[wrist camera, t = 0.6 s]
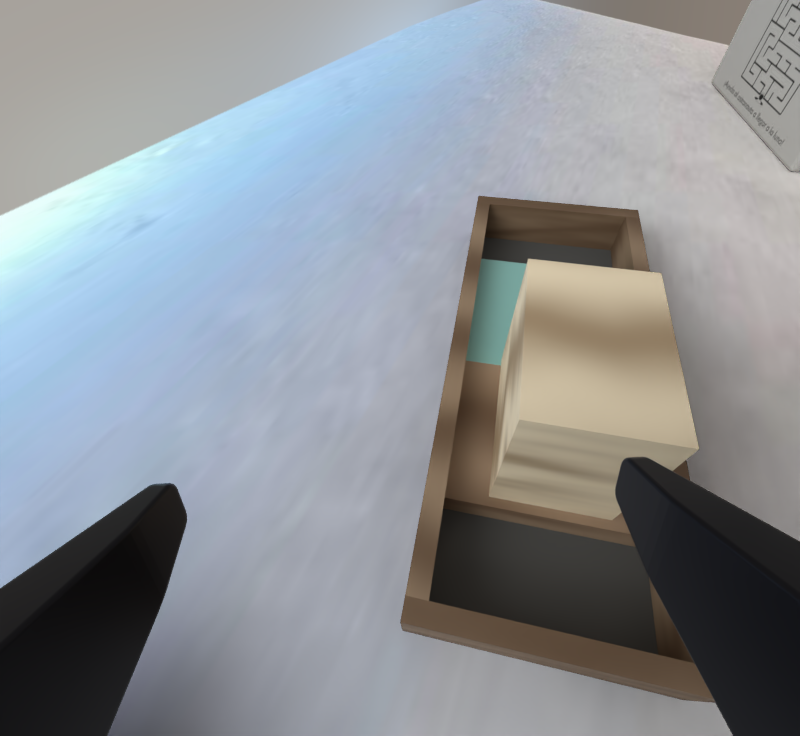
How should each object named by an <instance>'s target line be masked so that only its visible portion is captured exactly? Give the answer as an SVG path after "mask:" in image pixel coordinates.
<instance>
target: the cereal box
mask: <svg viewBox="0 0 800 736" xmlns="http://www.w3.org/2000/svg"><path fill="white" fill-rule="evenodd" d="M712 84H713V85H714V86H715V87H716V88H717V90H718V91H719V92H720V93H721V94H722V95H723V96H724V97H725V99H726V100H727V101H728V102H729V103H730V104H731V105H732V106H733V108H734V109H735V110H736V111H737V112H738V113H739V114H740V115H741V117H742V118H743V119H744V120H745V121H746V122H747V123H748V124H749V126H750V127H751V128H752V129H753V130H754V131H755V132H756V133H757V135H758V136H759V137H760V138H761V139H762V140H763V141H764V142H765V144H766V145H767V146H768V147H769V148H770V149H771V150H772V151H773V153H774V154H775V155H776V156H777V157H778V158H779V159H780V160H781V162H782V163H783V164H784V165H785V166H786V167H787V168H788V169H789V170H790V171H793V172H800V0H751V3H750V5H749V7H748V9H747V11H746V13H745V15H744V17H743V19H742V21H741V23H740V25H739V27H738V29H737V31H736V33H735V35H734V37H733V39H732V41H731V43H730V45H729V47H728V49H727V51H726V53H725V55H724V57H723V59H722V61H721V63H720V65H719V67H718V69H717V71H716V73H715V75H714V77H713V80H712Z"/></svg>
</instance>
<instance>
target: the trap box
mask: <svg viewBox="0 0 800 736" xmlns="http://www.w3.org/2000/svg"><path fill="white" fill-rule="evenodd" d="M528 259H537V260H546V261H555V262H564V263H573V264H582V265H591V266H600V267H610V268H619V269H628V270H637V271H646V272H650V270H649V265H648V260H647V255H646V250H645V244H644V239H643V234H642V229H641V224H640V219H639V213H638V210H629V209H618V208H607V207H596V206H585V205H574V204H562V203H551V202H540V201H529V200H518V199H507V198H496V197H485V196H479V197H478V202H477V207H476V213H475V218H474V224H473V229H472V235H471V240H470V246H469V251H468V257H467V262H466V267H465V273H464V278H463V284H462V289H461V295H460V300H459V306H458V311H457V316H456V322H455V327H454V333H453V338H452V344H451V349H450V355H449V360H448V366H447V371H446V376H445V382H444V387H443V393H442V398H441V404H440V409H439V415H438V420H437V425H436V431H435V436H434V442H433V447H432V453H431V458H430V464H429V469H428V475H427V480H426V485H425V491H424V496H423V502H422V507H421V513H420V518H419V524H418V529H417V535H416V540H415V545H414V551H413V556H412V562H411V567H410V573H409V578H408V584H407V589H406V594H405V600H404V605H403V611H402V616H401V622H400V623H401V626H402V630H403V631H407V632H411V633H415V634H419V635H423V636H427V637H431V638H435V639H439V640H443V641H447V642H451V643H456V644H460V645H464V646H468V647H472V648H476V649H480V650H484V651H488V652H492V653H496V654H500V655H504V656H508V657H512V658H516V659H520V660H524V661H528V662H532V663H536V664H540V665H544V666H549V667H553V668H557V669H561V670H565V671H569V672H573V673H577V674H581V675H585V676H589V677H593V678H597V679H601V680H605V681H609V682H613V683H617V684H621V685H625V686H629V687H633V688H638V689H642V690H646V691H650V692H654V693H658V694H662V695H666V696H670V697H674V698H678V699H682V700H690V701H703V702H715V701H714V699H713V697H712V695H711V693H710V691H709V689H708V688H707V686H706V684H705V682H704V680H703V678H702V676H701V674H700V673H699V671H698V669H697V667H696V665H695V663H694V661H693V659H692V658H691V656H690V654H689V652H688V650H687V648H686V646H685V644H684V642H683V641H682V639H681V637H680V635H679V633H678V631H677V629H676V627H675V626H674V624H673V622H672V620H671V618H670V616H669V614H668V612H667V611H666V609H665V607H664V605H663V603H662V601H661V599H660V597H659V596H658V594H657V592H656V590H655V588H654V586H653V584H652V582H651V580H650V578H649V576H648V574H647V572H646V570H645V568H644V566H643V563H642V561H641V559H640V556H639V554H638V551H637V549H636V546H635V544H634V542H633V539H632V537H631V534H630V532H629V529H628V527H627V524H626V522H625V520H624V517H623V515H622V513H620V514H619V515H618V516H617V517H615V518H614V519H613V520H607V519H602V518H597V517H592V516H587V515H582V514H576V513H571V512H566V511H561V510H556V509H551V508H545V507H540V506H535V505H530V504H525V503H520V502H514V501H509V500H504V499H499V498H494V497H489V489H490V478H491V467H492V456H493V446H494V435H495V424H496V413H497V402H498V391H499V381H500V370H501V359H502V355H503V352H504V348H505V344H506V340H507V337H508V333H509V329H510V325H511V322H512V318H513V314H514V310H515V306H516V303H517V299H518V295H519V291H520V288H521V284H522V280H523V276H524V273H525V269H526V265H527V261H528ZM673 472H675V473H677V474H679V475H680V476H682V477H684V478H686V479H688V480H689V481H690V478H689V472H688V467H687V462H686V460H685V461H684V462H683V463H682V464H680V465H679V466H678V467H677V468H676V469H674V470H673Z"/></svg>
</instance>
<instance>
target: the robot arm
mask: <svg viewBox="0 0 800 736" xmlns="http://www.w3.org/2000/svg"><path fill="white" fill-rule="evenodd" d="M615 495H616V500H617V502H618V505H619V507H620V510H621V512H622V515H623V517H624V520H625V522H626V524H627V527H628V529H629V532H630V534H631V537H632V539H633V542H634V544H635V546H636V549H637V551H638V554H639V556H640V559H641V561H642V563H643V566H644V568H645V570H646V572H647V574H648V576H649V578H650V580H651V582H652V584H653V586H654V588H655V590H656V592H657V594H658V596H659V597H660V599H661V601H662V603H663V605H664V607H665V609H666V611H667V612H668V614H669V616H670V618H671V620H672V622H673V624H674V626H675V627H676V629H677V631H678V633H679V635H680V637H681V639H682V641H683V642H684V644H685V646H686V648H687V650H688V652H689V654H690V656H691V658H692V659H693V661H694V663H695V665H696V667H697V669H698V671H699V673H700V674H701V676H702V678H703V680H704V682H705V684H706V686H707V688H708V689H709V691H710V693H711V695H712V697H713V699H714V701H715V703H716V704H717V706H718V708H719V710H720V712H721V714H722V716H723V718H724V719H725V721H726V723H727V725H728V727H729V729H730V731H731V733H732V735H733V736H800V541H798V540H796V539H794V538H792V537H791V536H789V535H787V534H785V533H783V532H782V531H780V530H778V529H776V528H774V527H773V526H771V525H769V524H767V523H765V522H764V521H762V520H760V519H758V518H756V517H754V516H753V515H751V514H749V513H747V512H745V511H744V510H742V509H740V508H738V507H736V506H735V505H733V504H731V503H729V502H727V501H726V500H724V499H722V498H720V497H718V496H716V495H715V494H713V493H711V492H709V491H707V490H706V489H704V488H702V487H700V486H698V485H697V484H695V483H693V482H691V481H689V480H688V479H686V478H684V477H682V476H680V475H679V474H677V473H675V472H673V471H671V470H669V469H668V468H666V467H664V466H662V465H660V464H659V463H657V462H655V461H653V460H651V459H649V458H647V457H628V458H625V459H624V460H623V461H622V463H621V467H620V471H619V475H618V479H617V483H616V487H615ZM186 523H187V513H186V510H185V507H184V505H183V502H182V500H181V497H180V494H179V492H178V489H177V487H176V486H175V485H174V484H171V483H163V484H153V485H150V486H148V487H147V488H145V489H144V490H143V491H141V492H140V493H138V494H137V495H135V496H134V497H132V498H131V499H129V500H128V501H127V502H125V503H124V504H122V505H121V506H119V507H118V508H116V509H115V510H113V511H112V512H111V513H109V514H108V515H106V516H105V517H103V518H102V519H100V520H99V521H97V522H96V523H95V524H93V525H92V526H90V527H89V528H87V529H86V530H84V531H83V532H81V533H80V534H79V535H77V536H76V537H74V538H73V539H71V540H70V541H68V542H67V543H65V544H64V545H63V546H61V547H60V548H58V549H57V550H55V551H54V552H52V553H51V554H49V555H48V556H47V557H45V558H44V559H42V560H41V561H39V562H38V563H36V564H35V565H33V566H32V567H31V568H29V569H28V570H26V571H25V572H23V573H22V574H20V575H19V576H17V577H16V578H15V579H13V580H12V581H10V582H9V583H7V584H6V585H4V586H3V587H2V588H0V736H107V735H108V733H109V730H110V728H111V725H112V723H113V720H114V718H115V716H116V713H117V711H118V708H119V706H120V704H121V701H122V699H123V696H124V694H125V691H126V689H127V687H128V684H129V682H130V679H131V677H132V675H133V672H134V670H135V667H136V665H137V663H138V660H139V658H140V655H141V653H142V650H143V648H144V646H145V643H146V641H147V638H148V636H149V634H150V631H151V629H152V626H153V624H154V622H155V619H156V617H157V614H158V612H159V609H160V607H161V604H162V602H163V599H164V596H165V593H166V590H167V587H168V584H169V580H170V577H171V574H172V570H173V567H174V564H175V560H176V557H177V554H178V550H179V547H180V544H181V540H182V537H183V534H184V530H185V527H186Z"/></svg>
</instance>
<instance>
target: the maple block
mask: <svg viewBox="0 0 800 736" xmlns="http://www.w3.org/2000/svg"><path fill="white" fill-rule="evenodd" d="M698 450H699V446H698V441H697V437H696V432H695V428H694V423H693V418H692V414H691V409H690V404H689V400H688V395H687V390H686V386H685V381H684V376H683V372H682V367H681V363H680V358H679V353H678V349H677V344H676V339H675V335H674V330H673V325H672V321H671V316H670V312H669V307H668V302H667V298H666V293H665V288H664V284H663V279H662V274H661V273H655V272H646V271H637V270H628V269H619V268H610V267H600V266H591V265H582V264H573V263H564V262H555V261H546V260H537V259H528V261H527V265H526V269H525V273H524V276H523V280H522V284H521V288H520V291H519V295H518V299H517V303H516V306H515V310H514V314H513V318H512V322H511V325H510V329H509V333H508V337H507V340H506V344H505V348H504V352H503V355H502V359H501V370H500V381H499V391H498V402H497V413H496V424H495V435H494V446H493V456H492V467H491V478H490V489H489V497H494V498H499V499H504V500H509V501H514V502H520V503H525V504H530V505H535V506H540V507H545V508H551V509H556V510H561V511H566V512H571V513H576V514H582V515H587V516H592V517H597V518H602V519H607V520H613V519H614V518H615V517H617V516H618V515H619V514H620V513H622V512H621V510H620V507H619V505H618V502H617V500H616V495H615V487H616V483H617V479H618V475H619V471H620V467H621V463H622V461H623V460H624V459H625V458H628V457H647V458H649V459H651V460H653V461H655V462H657V463H659V464H660V465H662V466H664V467H666V468H668V469H669V470H671V471H673V470H674V469H676V468H677V467H678V466H679V465H680V464H682V463H683V462H684V461H685V460H687V459H688V458H689V457H690V456H692V455H693V454H694V453H695V452H696V451H698Z"/></svg>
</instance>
